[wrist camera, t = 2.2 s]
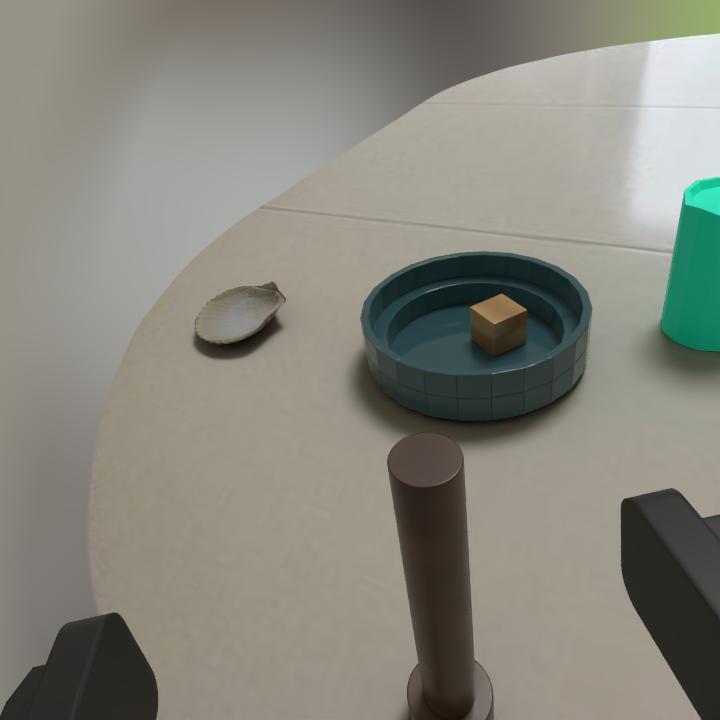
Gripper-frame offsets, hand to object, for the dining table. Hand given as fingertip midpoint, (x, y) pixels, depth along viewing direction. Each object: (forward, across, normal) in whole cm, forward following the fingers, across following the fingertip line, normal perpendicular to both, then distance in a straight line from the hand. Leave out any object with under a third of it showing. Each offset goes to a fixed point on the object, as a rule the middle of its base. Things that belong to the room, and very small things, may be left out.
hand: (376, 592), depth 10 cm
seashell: (+44, +9, +14) cm, 47 cm away
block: (+35, -11, +15) cm, 40 cm away
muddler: (+10, -1, +19) cm, 22 cm away
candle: (+33, -26, +17) cm, 45 cm away
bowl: (+34, -9, +16) cm, 39 cm away
